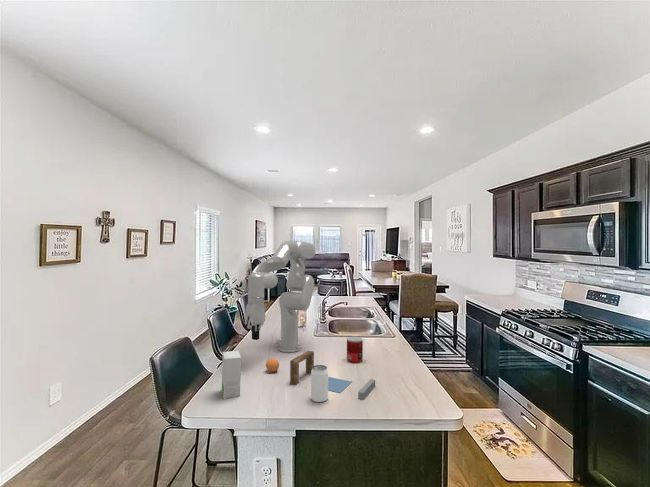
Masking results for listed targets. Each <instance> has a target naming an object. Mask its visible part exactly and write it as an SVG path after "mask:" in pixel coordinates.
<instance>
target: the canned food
mask: <svg viewBox="0 0 650 487" xmlns="http://www.w3.org/2000/svg"><path fill="white" fill-rule="evenodd" d="M363 341H364V340H363V338H362V337H360V336H349V337H347V338H346V360H347V362H349V363H352V364H358V363H362V361H363V359H364V358H363V355H364V354H363V350H364V348H363V347H364V344H363V343H364V342H363Z"/></svg>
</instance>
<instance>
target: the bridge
mask: <svg viewBox="0 0 650 487" xmlns="http://www.w3.org/2000/svg"><path fill="white" fill-rule="evenodd" d="M314 351H315V350H314ZM314 351H313V350H307V351H305V352H303V353H301V354H299V355H297V356H296V357H294V358H293V359H291V360H290V361H289V366H290V367H289V368H290V369H289V376H290V377H289V382H290V384H291V385H293V386H294V385H295V386H297V385H299V383H300V382H299V380H300V369H299V368H300V363H301V362H303V361H304V360H305V374H309V375H311V371H312V367H313V366H315V365H314V364H315V363H314V361H315V360H314V359H315V355H314V353H315V352H314Z"/></svg>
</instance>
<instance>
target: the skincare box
mask: <svg viewBox="0 0 650 487" xmlns="http://www.w3.org/2000/svg"><path fill="white" fill-rule="evenodd" d="M221 365H222V367H221V393H222V397H223V399H224V400H225V399H231V398H237V397H240V396H241V377H242V375H241V371H242V370H241V369H242V357H241V353H240V352H239V350H230V351H222V364H221Z"/></svg>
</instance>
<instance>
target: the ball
mask: <svg viewBox="0 0 650 487" xmlns="http://www.w3.org/2000/svg"><path fill="white" fill-rule="evenodd" d="M279 367H280V362H279V360H278V359H277V358H274V357H272V358H269V359H268V360H267V361H266V364H265V368H266V370H267V371H268V372H269V373H270V372H271V373H275V372H276V371H278V369H279Z"/></svg>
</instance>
